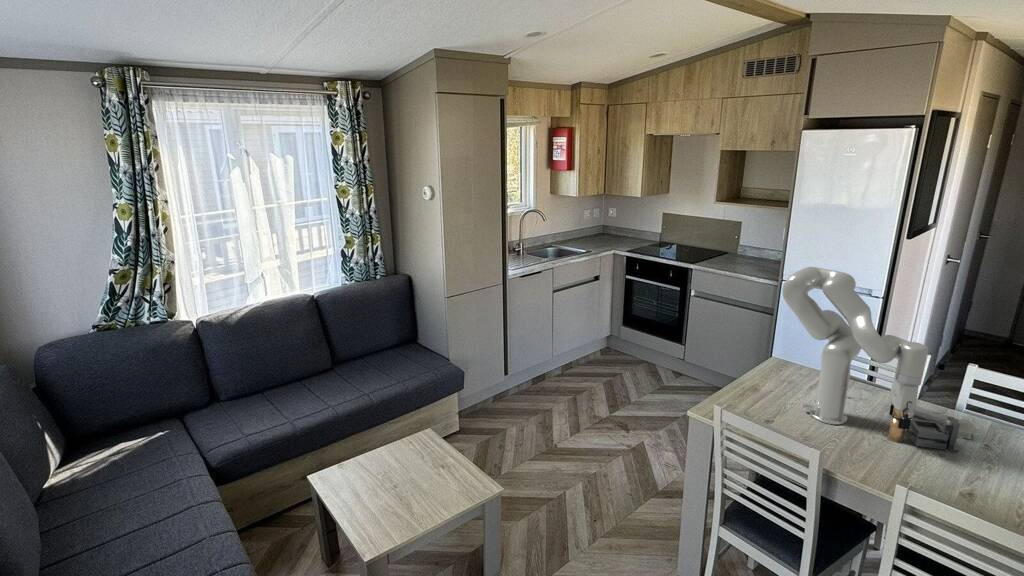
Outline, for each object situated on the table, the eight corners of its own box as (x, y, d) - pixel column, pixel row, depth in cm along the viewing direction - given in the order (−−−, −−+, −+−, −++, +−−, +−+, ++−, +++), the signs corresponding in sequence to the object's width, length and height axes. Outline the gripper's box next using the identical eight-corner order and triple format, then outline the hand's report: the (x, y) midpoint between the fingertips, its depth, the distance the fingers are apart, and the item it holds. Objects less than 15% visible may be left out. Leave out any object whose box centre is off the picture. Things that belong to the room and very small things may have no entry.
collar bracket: (905, 434, 195) (910, 409, 192) (947, 439, 191) (953, 414, 188) (914, 447, 187) (920, 422, 184) (958, 453, 183) (965, 427, 180)
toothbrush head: (902, 398, 212) (979, 419, 190) (901, 414, 214) (978, 437, 192) (894, 401, 210) (972, 423, 188) (893, 417, 211) (970, 441, 189)
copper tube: (890, 441, 191) (897, 406, 187) (885, 434, 195) (893, 400, 191) (904, 443, 190) (912, 408, 186) (900, 436, 194) (907, 402, 190)
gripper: (887, 365, 194) (878, 408, 199) (904, 387, 178) (894, 433, 184) (911, 367, 192) (902, 411, 197) (931, 390, 176) (920, 436, 181)
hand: (898, 421), depth 190 cm, fingers open, 8 cm apart
